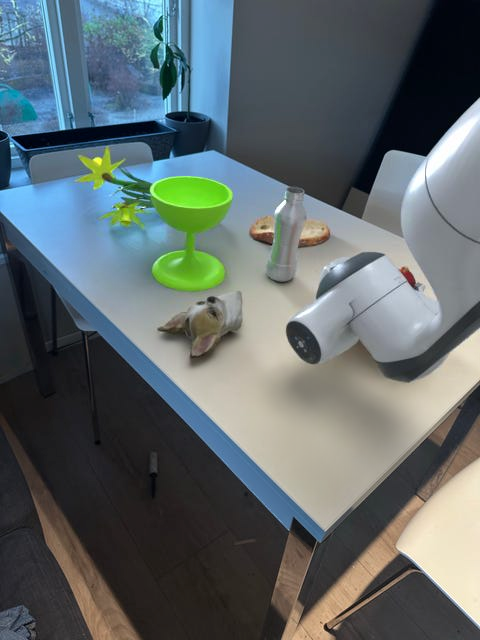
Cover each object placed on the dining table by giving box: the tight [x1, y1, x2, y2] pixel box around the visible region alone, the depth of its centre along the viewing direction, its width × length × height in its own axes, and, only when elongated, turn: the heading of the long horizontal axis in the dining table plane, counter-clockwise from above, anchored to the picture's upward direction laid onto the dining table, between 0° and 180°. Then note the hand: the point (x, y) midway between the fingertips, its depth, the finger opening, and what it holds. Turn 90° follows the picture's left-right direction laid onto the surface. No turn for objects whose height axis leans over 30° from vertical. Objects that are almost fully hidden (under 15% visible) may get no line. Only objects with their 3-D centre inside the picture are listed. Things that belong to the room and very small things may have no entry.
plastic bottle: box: [266, 186, 307, 282], centre depth 93 cm, size 6×7×20 cm
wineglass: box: [149, 175, 234, 292], centre depth 92 cm, size 16×16×18 cm
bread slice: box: [248, 215, 331, 248], centre depth 115 cm, size 18×18×4 cm
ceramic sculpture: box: [156, 290, 244, 360], centre depth 78 cm, size 11×9×15 cm
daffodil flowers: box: [74, 145, 155, 230], centre depth 111 cm, size 17×15×35 cm
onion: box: [397, 265, 417, 288], centre depth 81 cm, size 6×6×8 cm
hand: (403, 278), depth 81 cm, fingers closed on onion, 5 cm apart
